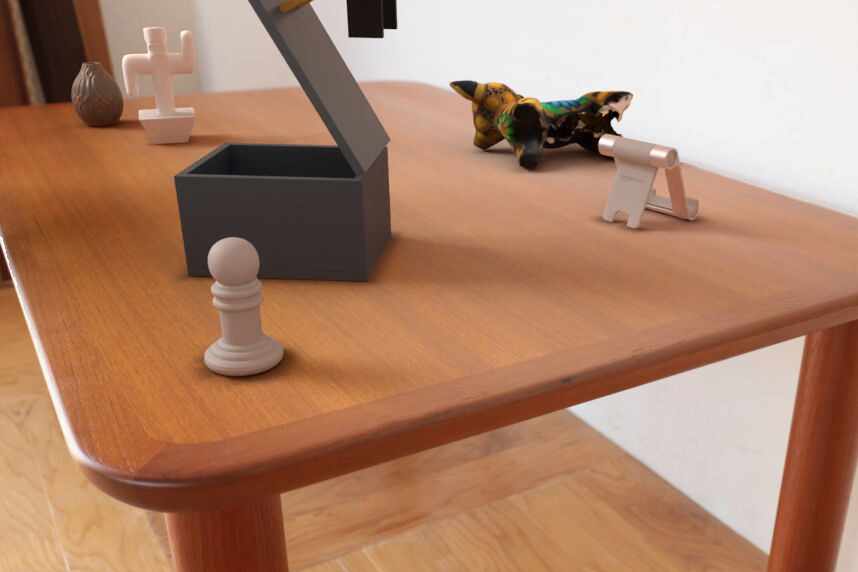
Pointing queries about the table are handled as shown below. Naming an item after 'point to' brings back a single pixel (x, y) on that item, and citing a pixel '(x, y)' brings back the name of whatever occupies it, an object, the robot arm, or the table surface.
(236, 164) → the chest
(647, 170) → the tablet stand
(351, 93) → the lid
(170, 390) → the table surface
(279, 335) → the table surface
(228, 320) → the chess piece
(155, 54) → the figurine
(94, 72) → the vase
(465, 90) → the dog figurine
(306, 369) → the table surface
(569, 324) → the table surface
